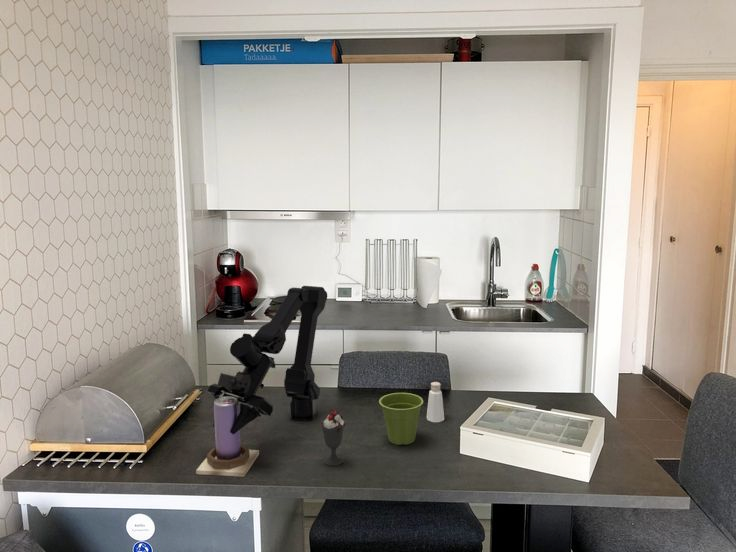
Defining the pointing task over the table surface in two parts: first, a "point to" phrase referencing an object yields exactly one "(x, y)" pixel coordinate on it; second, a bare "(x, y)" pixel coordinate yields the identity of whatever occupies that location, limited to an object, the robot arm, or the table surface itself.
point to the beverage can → (226, 428)
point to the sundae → (333, 436)
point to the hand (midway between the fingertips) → (223, 430)
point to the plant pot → (401, 416)
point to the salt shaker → (435, 404)
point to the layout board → (228, 463)
